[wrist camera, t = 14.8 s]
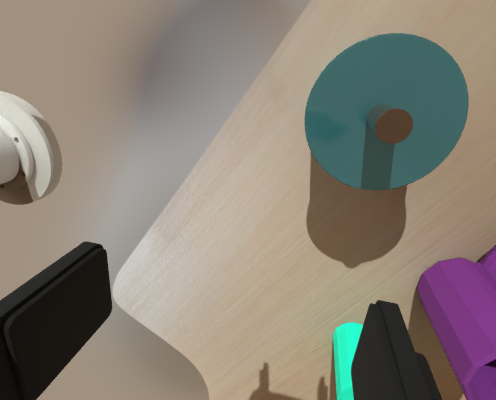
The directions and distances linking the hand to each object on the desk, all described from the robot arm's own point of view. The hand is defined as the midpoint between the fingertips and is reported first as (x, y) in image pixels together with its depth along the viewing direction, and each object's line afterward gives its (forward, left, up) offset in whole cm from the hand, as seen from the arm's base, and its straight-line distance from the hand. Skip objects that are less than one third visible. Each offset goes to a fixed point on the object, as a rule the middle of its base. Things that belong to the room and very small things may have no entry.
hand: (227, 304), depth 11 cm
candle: (+26, -18, -31) cm, 44 cm away
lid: (+4, +8, -20) cm, 22 cm away
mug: (+28, +1, -31) cm, 41 cm away
